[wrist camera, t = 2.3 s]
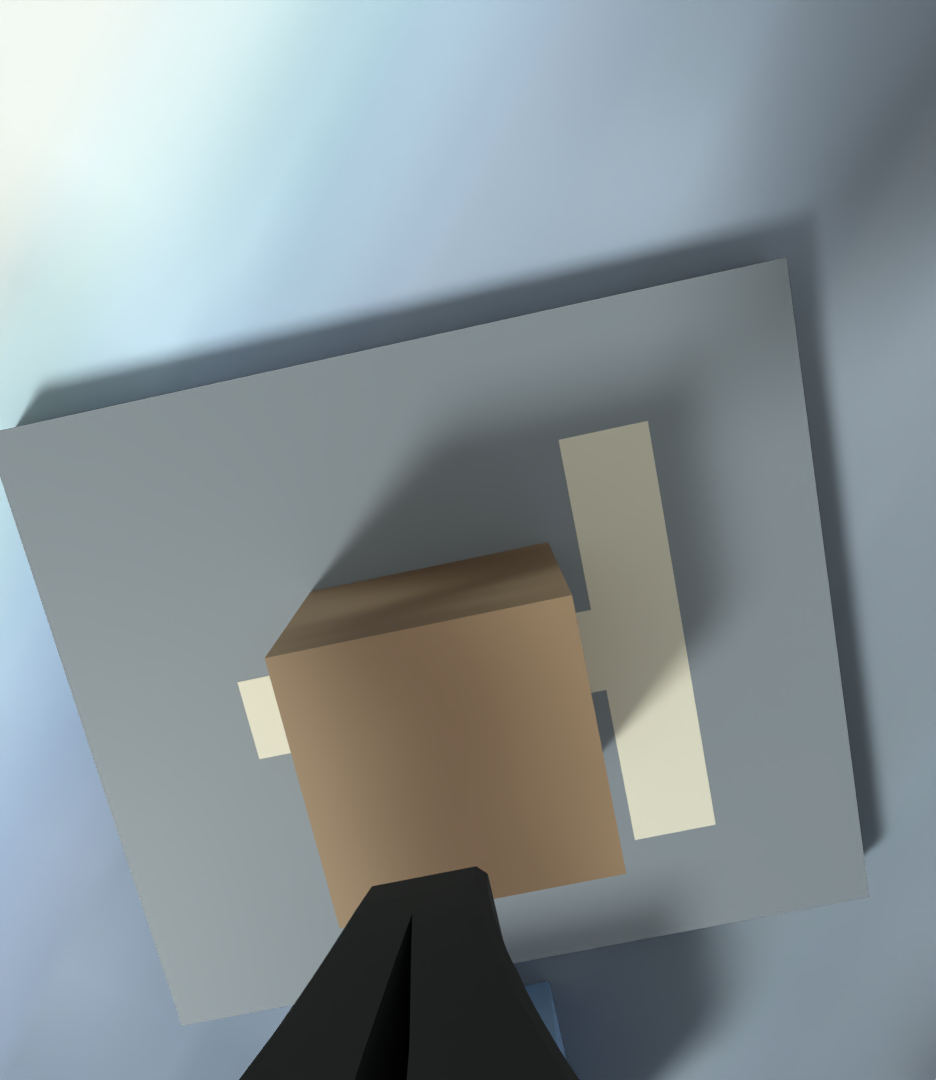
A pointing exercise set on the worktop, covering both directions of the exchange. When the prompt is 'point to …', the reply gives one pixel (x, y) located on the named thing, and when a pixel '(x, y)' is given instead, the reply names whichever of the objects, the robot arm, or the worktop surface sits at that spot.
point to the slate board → (443, 537)
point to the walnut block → (447, 728)
